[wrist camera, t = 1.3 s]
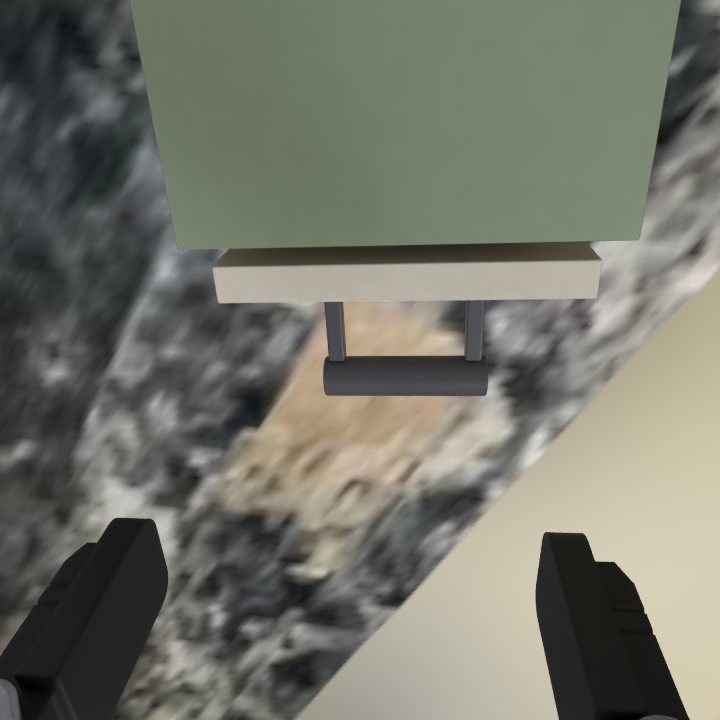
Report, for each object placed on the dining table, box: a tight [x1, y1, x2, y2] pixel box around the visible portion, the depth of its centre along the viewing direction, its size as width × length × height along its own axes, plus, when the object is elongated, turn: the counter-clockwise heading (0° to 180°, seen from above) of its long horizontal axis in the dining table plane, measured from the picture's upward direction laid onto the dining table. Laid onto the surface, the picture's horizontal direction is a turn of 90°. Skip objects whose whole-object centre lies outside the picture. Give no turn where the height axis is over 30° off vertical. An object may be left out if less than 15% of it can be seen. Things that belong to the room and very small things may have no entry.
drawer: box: [212, 241, 602, 396], centre depth 20 cm, size 18×11×8 cm, turn 3°
